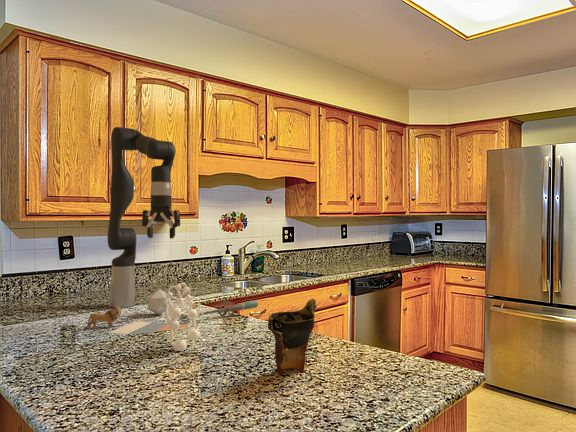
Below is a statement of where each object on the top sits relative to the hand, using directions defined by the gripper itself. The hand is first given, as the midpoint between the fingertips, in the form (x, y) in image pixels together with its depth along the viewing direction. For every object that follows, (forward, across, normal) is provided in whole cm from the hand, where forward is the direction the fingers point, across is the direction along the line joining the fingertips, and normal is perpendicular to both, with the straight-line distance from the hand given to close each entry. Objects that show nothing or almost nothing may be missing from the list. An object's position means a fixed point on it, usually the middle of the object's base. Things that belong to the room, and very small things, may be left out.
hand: (161, 238), depth 173 cm
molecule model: (+30, +26, -35) cm, 53 cm away
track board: (+30, 0, -15) cm, 34 cm away
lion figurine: (+30, -13, -17) cm, 37 cm away
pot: (+30, +60, -49) cm, 83 cm away
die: (+30, -4, +6) cm, 31 cm away
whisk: (+31, +20, +6) cm, 38 cm away
